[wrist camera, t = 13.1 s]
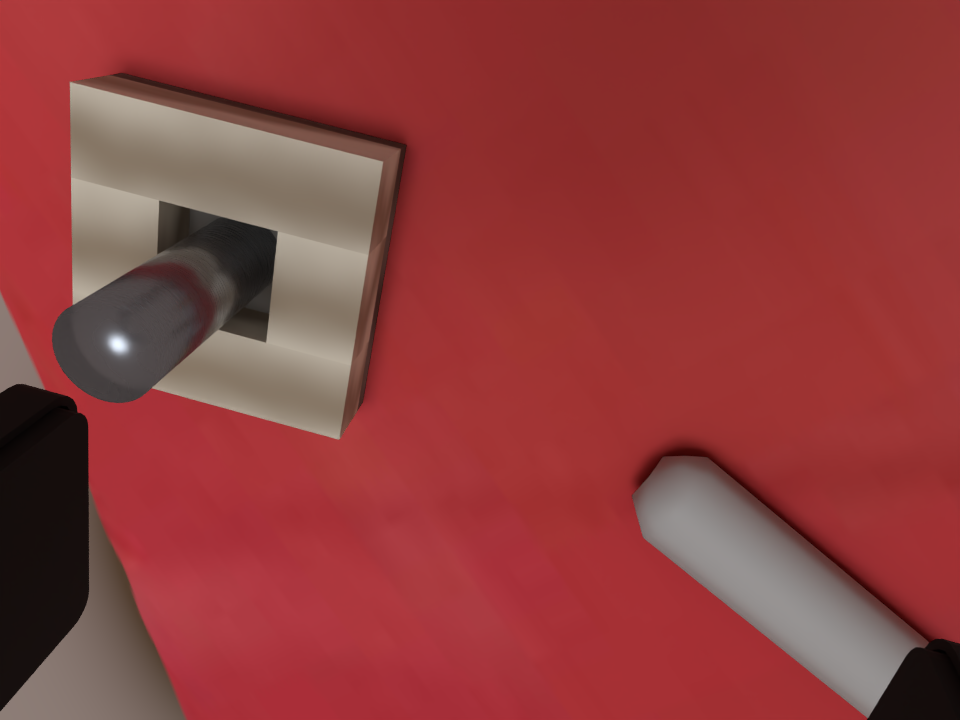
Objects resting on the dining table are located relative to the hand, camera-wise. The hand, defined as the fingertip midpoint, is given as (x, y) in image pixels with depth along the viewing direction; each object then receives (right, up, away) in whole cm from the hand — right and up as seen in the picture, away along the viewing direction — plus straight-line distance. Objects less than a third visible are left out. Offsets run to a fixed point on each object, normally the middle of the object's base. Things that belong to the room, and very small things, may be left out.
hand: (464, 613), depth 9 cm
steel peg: (-12, +8, +31) cm, 34 cm away
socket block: (-11, +8, +32) cm, 35 cm away
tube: (+19, -10, +35) cm, 41 cm away
